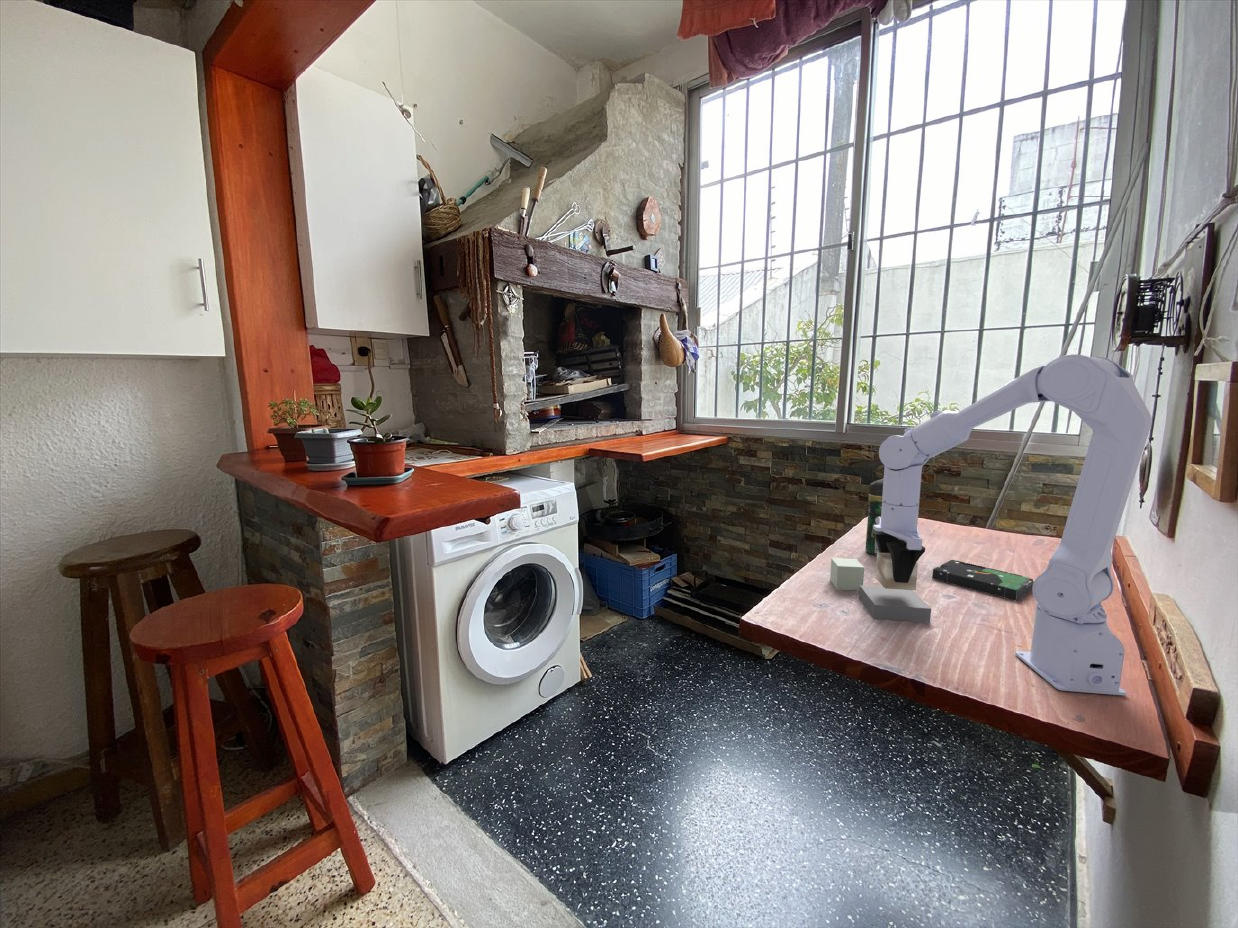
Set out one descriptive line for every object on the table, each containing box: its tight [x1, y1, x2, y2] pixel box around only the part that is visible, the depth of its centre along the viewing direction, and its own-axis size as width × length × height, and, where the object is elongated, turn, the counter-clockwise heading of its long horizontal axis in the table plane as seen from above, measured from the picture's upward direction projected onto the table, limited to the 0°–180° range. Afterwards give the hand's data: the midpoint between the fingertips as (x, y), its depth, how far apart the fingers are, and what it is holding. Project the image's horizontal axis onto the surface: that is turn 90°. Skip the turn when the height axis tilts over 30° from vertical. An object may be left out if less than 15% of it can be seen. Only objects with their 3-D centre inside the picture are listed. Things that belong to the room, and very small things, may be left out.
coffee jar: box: [865, 477, 884, 556], centre depth 120 cm, size 10×8×19 cm
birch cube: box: [874, 553, 919, 591], centre depth 88 cm, size 5×5×5 cm
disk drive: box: [931, 559, 1035, 602], centre depth 101 cm, size 10×3×15 cm
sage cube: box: [829, 557, 865, 592], centre depth 101 cm, size 5×5×5 cm
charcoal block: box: [858, 584, 932, 624], centre depth 89 cm, size 9×9×3 cm
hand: (894, 576), depth 89 cm, fingers closed on birch cube, 5 cm apart
